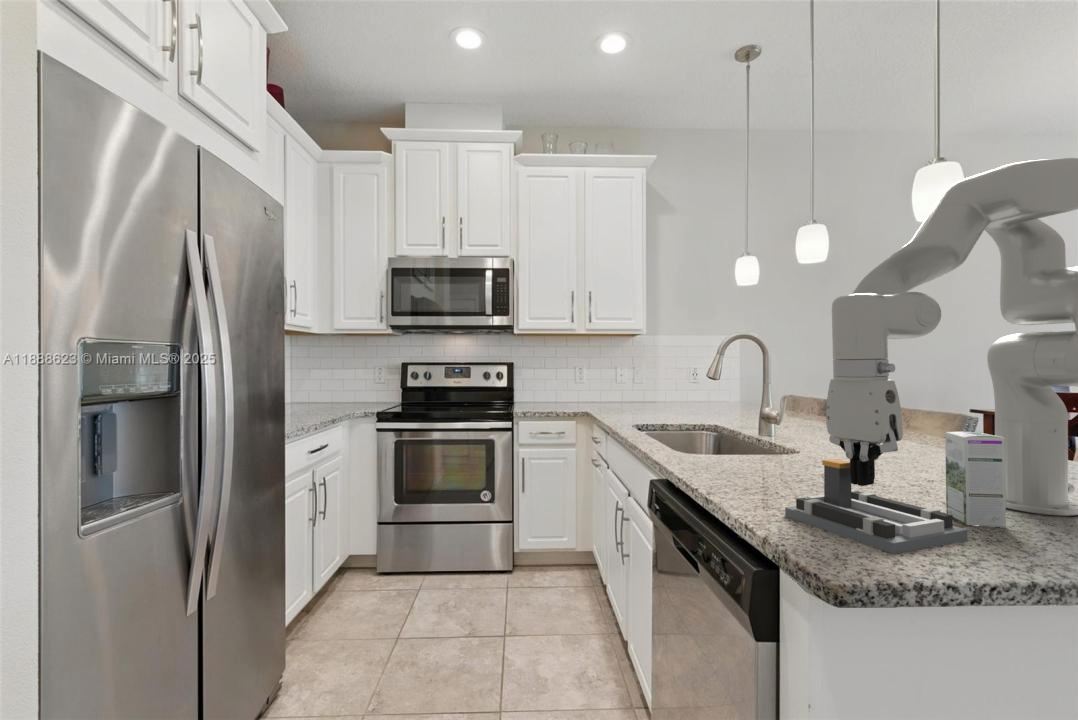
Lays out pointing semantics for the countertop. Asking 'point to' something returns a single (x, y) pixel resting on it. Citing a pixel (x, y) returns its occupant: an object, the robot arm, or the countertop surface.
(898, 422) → the robot arm
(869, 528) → the pair of dark rails
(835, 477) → the toggle knob
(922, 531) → the breaker panel
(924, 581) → the countertop surface
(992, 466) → the syrup box
